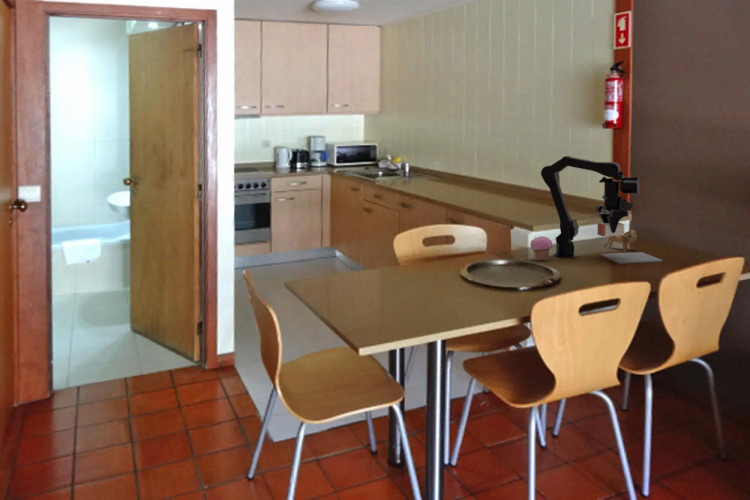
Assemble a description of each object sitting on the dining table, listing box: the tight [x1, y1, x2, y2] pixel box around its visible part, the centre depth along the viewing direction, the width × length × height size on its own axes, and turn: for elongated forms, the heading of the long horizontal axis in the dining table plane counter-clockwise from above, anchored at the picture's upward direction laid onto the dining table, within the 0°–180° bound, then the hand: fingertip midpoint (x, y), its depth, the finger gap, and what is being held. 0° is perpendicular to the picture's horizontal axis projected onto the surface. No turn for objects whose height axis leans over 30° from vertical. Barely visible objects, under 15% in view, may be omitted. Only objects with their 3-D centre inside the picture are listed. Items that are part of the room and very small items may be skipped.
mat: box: [600, 251, 664, 265], centre depth 274 cm, size 18×18×1 cm
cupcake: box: [529, 235, 553, 261], centre depth 276 cm, size 9×9×10 cm
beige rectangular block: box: [596, 222, 625, 237], centre depth 272 cm, size 5×9×5 cm, turn 93°
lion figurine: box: [603, 229, 638, 252], centre depth 294 cm, size 15×5×9 cm, turn 46°
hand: (610, 231), depth 272 cm, fingers closed on beige rectangular block, 5 cm apart
